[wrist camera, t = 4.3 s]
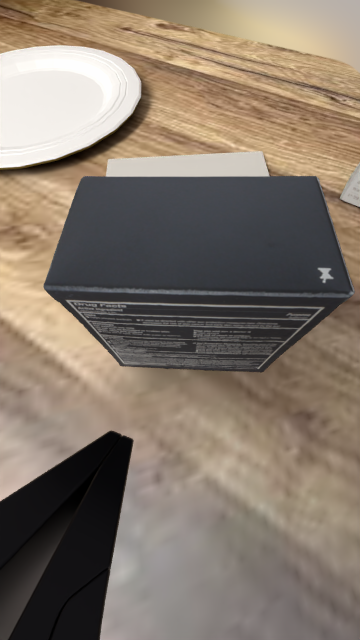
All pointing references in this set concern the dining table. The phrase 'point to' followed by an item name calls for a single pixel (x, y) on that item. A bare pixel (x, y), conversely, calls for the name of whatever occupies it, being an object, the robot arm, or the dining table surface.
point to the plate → (61, 102)
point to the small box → (199, 268)
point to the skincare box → (352, 188)
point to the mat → (190, 165)
